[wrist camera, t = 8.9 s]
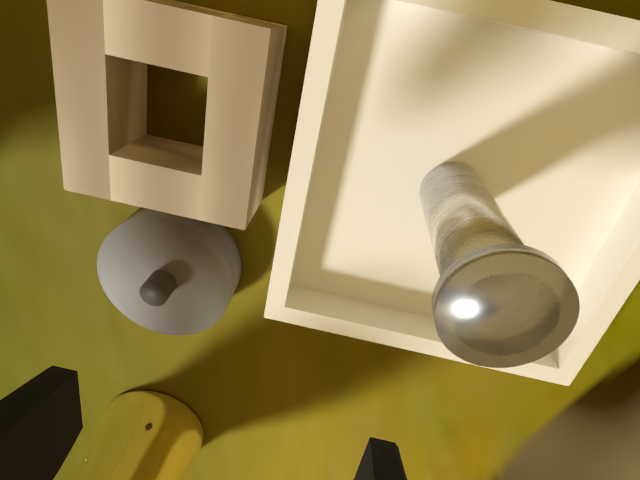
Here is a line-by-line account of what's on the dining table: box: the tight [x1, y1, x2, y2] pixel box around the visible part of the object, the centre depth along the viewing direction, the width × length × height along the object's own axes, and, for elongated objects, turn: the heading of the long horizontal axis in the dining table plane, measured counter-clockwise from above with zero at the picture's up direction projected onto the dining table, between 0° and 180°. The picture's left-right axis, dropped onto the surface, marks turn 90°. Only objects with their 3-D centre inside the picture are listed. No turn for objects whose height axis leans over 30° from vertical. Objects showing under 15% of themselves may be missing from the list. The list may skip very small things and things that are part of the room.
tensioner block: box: [46, 0, 288, 335], centre depth 18 cm, size 7×14×3 cm, turn 169°
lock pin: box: [419, 162, 580, 368], centre depth 14 cm, size 3×3×8 cm
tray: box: [264, 0, 640, 386], centre depth 17 cm, size 14×14×2 cm
